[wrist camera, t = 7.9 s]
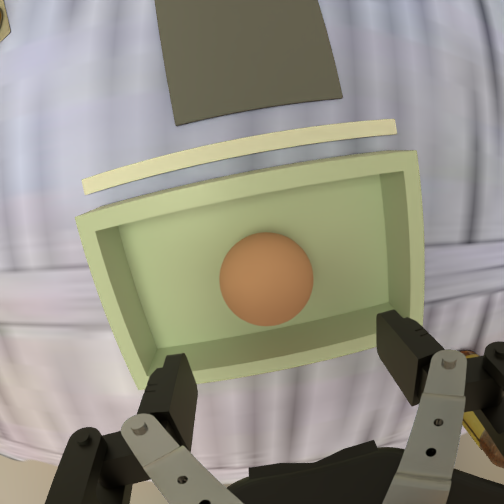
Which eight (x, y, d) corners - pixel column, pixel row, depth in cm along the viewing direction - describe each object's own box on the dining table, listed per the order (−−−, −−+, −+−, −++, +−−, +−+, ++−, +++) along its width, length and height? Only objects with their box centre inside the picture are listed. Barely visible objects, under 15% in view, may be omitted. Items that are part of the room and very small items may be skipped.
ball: (296, 216, 23) (317, 237, 17) (308, 292, 24) (328, 332, 19) (212, 232, 23) (205, 259, 17) (230, 308, 25) (230, 352, 19)
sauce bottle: (471, 379, 30) (559, 486, 11) (429, 399, 30) (512, 525, 11) (478, 336, 28) (590, 445, 9) (434, 356, 28) (543, 491, 9)
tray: (386, 150, 22) (416, 150, 18) (397, 307, 26) (422, 332, 22) (101, 206, 22) (74, 217, 18) (150, 357, 26) (138, 389, 22)
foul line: (392, 119, 22) (394, 118, 21) (395, 134, 22) (397, 134, 22) (83, 179, 22) (81, 179, 21) (86, 194, 22) (85, 194, 22)
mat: (305, -32, 18) (306, -34, 17) (341, 98, 21) (342, 97, 21) (154, -9, 18) (153, -12, 17) (176, 125, 21) (175, 125, 21)
